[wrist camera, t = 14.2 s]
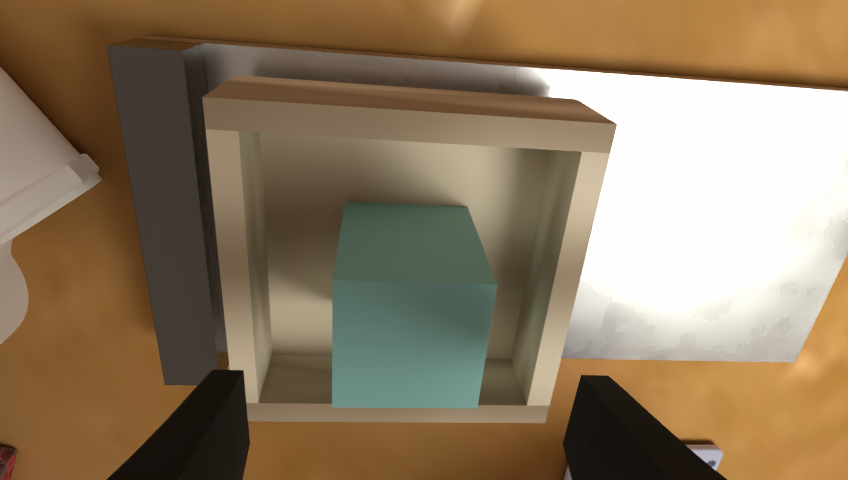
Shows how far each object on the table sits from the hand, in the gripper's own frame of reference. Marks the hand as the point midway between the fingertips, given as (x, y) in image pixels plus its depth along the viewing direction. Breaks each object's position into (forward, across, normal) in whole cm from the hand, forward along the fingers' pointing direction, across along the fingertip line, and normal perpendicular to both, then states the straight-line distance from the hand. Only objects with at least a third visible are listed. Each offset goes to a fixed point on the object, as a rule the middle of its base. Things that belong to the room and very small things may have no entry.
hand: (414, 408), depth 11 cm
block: (+7, 0, 0) cm, 7 cm away
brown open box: (+9, 0, 0) cm, 9 cm away
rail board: (+10, -5, 0) cm, 12 cm away
